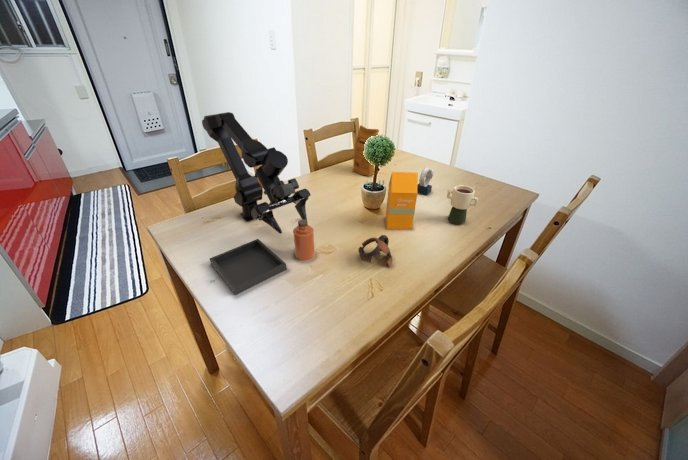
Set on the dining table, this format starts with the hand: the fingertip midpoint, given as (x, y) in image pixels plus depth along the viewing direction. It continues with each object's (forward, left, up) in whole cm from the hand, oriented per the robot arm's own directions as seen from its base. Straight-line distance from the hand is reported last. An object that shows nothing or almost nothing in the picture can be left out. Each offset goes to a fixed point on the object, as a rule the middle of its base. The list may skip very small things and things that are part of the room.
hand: (293, 227), depth 93 cm
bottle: (+5, 0, -8) cm, 9 cm away
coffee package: (-31, +63, -8) cm, 71 cm away
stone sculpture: (+2, +66, -8) cm, 67 cm away
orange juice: (+12, +37, -8) cm, 40 cm away
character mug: (+25, +55, -8) cm, 61 cm away
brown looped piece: (+21, +16, -8) cm, 27 cm away
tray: (-1, -16, -8) cm, 18 cm away
